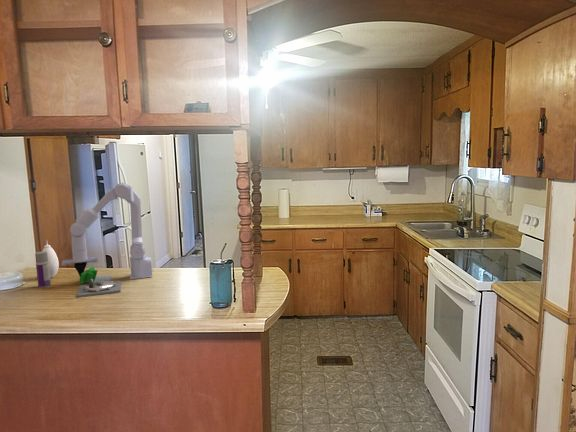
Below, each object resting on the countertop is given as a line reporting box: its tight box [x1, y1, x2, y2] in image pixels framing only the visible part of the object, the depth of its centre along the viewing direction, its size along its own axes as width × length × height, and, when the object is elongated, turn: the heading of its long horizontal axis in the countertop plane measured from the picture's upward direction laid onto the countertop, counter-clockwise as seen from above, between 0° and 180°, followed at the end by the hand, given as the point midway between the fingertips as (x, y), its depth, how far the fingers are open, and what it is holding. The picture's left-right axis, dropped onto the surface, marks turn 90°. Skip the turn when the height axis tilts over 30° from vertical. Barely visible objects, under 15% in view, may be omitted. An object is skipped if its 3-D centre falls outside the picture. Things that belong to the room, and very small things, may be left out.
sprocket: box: [83, 279, 116, 292], centre depth 171 cm, size 12×12×4 cm
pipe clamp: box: [78, 266, 98, 285], centre depth 183 cm, size 11×4×5 cm, turn 1°
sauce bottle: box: [41, 240, 60, 279], centre depth 190 cm, size 8×8×18 cm
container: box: [34, 251, 52, 289], centre depth 177 cm, size 5×5×15 cm
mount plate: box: [76, 280, 122, 298], centre depth 171 cm, size 16×15×1 cm
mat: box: [93, 275, 112, 283], centre depth 185 cm, size 7×13×1 cm, turn 22°
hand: (81, 279), depth 182 cm, fingers closed
